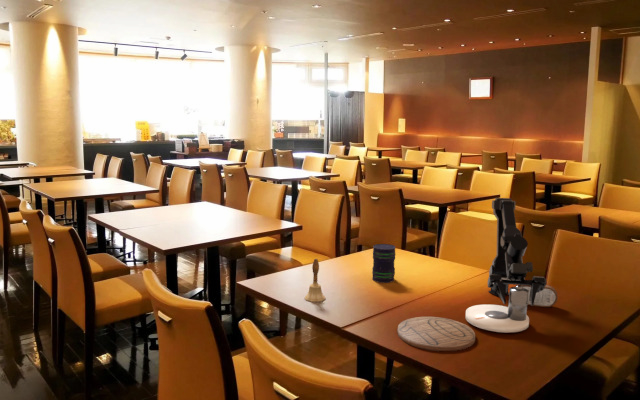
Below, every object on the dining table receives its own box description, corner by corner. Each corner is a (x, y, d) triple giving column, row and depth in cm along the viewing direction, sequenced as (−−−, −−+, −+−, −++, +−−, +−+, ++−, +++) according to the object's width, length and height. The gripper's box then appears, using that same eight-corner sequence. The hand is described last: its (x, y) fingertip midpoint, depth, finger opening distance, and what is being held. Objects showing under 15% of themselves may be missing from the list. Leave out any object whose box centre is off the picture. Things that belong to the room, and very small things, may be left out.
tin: (556, 306, 203) (558, 285, 201) (557, 309, 200) (559, 287, 198) (514, 301, 207) (516, 281, 206) (514, 304, 204) (516, 283, 203)
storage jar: (398, 278, 235) (399, 245, 233) (388, 284, 227) (389, 250, 225) (378, 274, 241) (379, 242, 238) (368, 280, 232) (369, 247, 230)
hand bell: (307, 294, 213) (307, 255, 211) (327, 296, 211) (328, 257, 209) (302, 301, 205) (302, 261, 203) (323, 303, 203) (323, 262, 201)
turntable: (498, 306, 199) (498, 301, 198) (542, 326, 180) (542, 320, 180) (453, 314, 190) (453, 309, 190) (494, 336, 171) (495, 330, 171)
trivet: (425, 358, 158) (426, 352, 158) (383, 327, 181) (383, 322, 180) (491, 345, 168) (492, 339, 168) (443, 317, 191) (444, 312, 190)
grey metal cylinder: (516, 313, 186) (519, 282, 185) (529, 319, 181) (532, 287, 179) (503, 315, 184) (506, 284, 182) (516, 321, 178) (519, 290, 177)
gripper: (490, 251, 184) (493, 292, 175) (547, 254, 181) (553, 295, 172) (486, 267, 193) (488, 306, 184) (539, 270, 190) (545, 310, 181)
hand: (518, 304), depth 180 cm, fingers open, 9 cm apart
